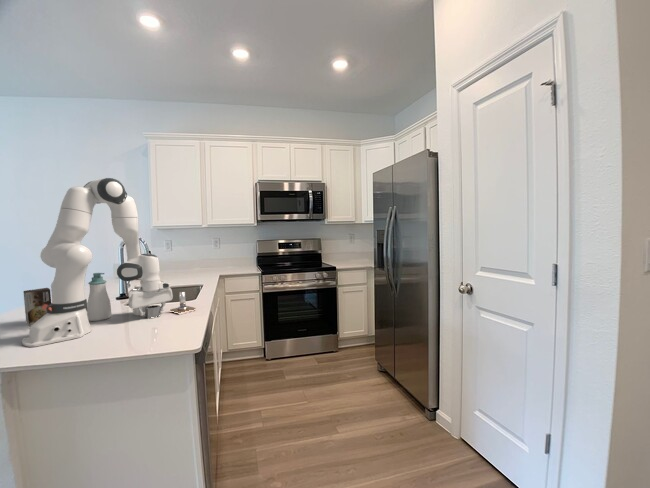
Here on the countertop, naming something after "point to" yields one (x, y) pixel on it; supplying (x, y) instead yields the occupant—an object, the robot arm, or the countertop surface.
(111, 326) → the countertop surface
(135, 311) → the pill bottle
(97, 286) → the soap bottle
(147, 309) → the hub
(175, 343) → the countertop surface
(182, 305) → the shaft block
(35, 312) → the coffee box
